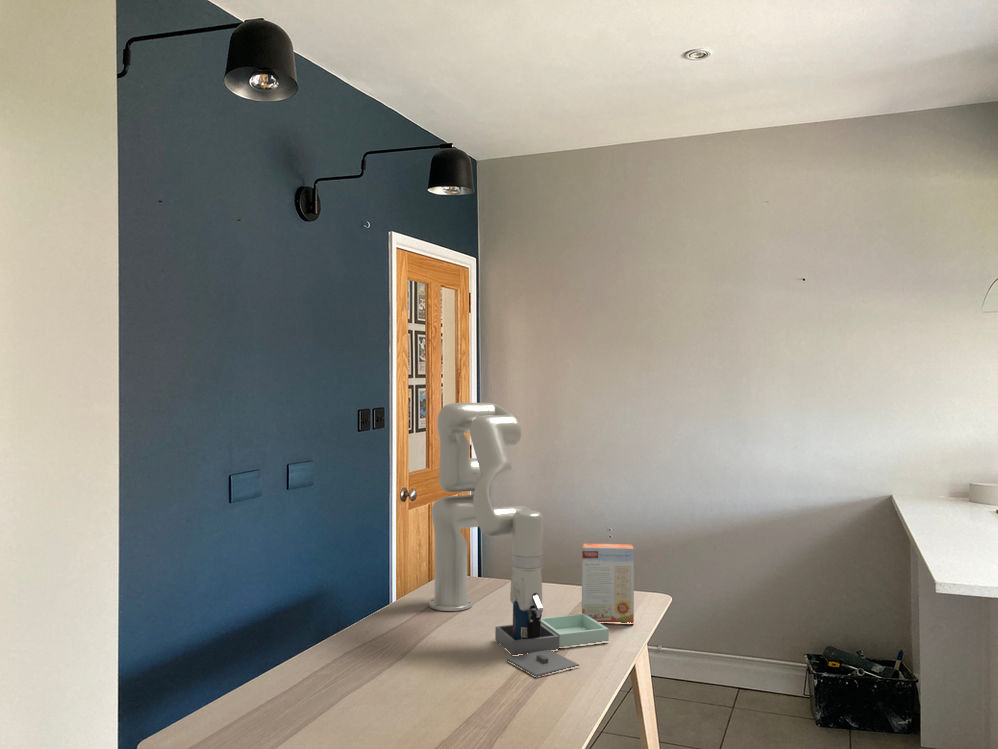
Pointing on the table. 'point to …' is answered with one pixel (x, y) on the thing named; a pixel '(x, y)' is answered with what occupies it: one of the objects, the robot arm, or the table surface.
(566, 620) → the bin
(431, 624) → the table surface
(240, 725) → the table surface
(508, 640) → the bin
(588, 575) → the cracker box
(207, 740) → the table surface
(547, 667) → the lid
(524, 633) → the soda can
